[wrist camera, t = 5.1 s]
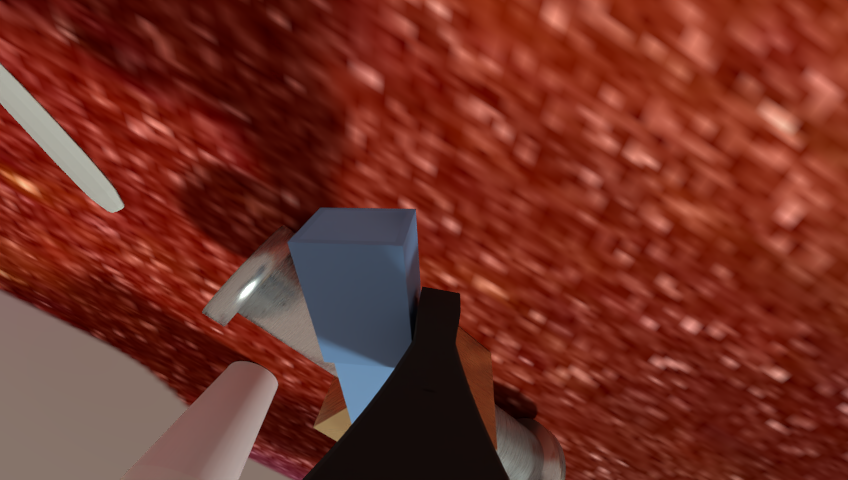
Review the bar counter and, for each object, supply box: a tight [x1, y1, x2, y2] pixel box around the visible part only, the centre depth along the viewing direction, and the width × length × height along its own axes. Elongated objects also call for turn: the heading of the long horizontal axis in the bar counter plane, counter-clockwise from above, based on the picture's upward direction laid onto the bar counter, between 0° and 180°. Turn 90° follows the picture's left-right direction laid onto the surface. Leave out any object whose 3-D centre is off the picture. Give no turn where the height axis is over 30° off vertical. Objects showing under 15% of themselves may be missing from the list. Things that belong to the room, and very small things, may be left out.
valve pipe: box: [202, 225, 566, 480], centre depth 17 cm, size 20×6×5 cm, turn 46°
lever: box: [287, 208, 421, 424], centre depth 11 cm, size 13×3×2 cm, turn 2°
